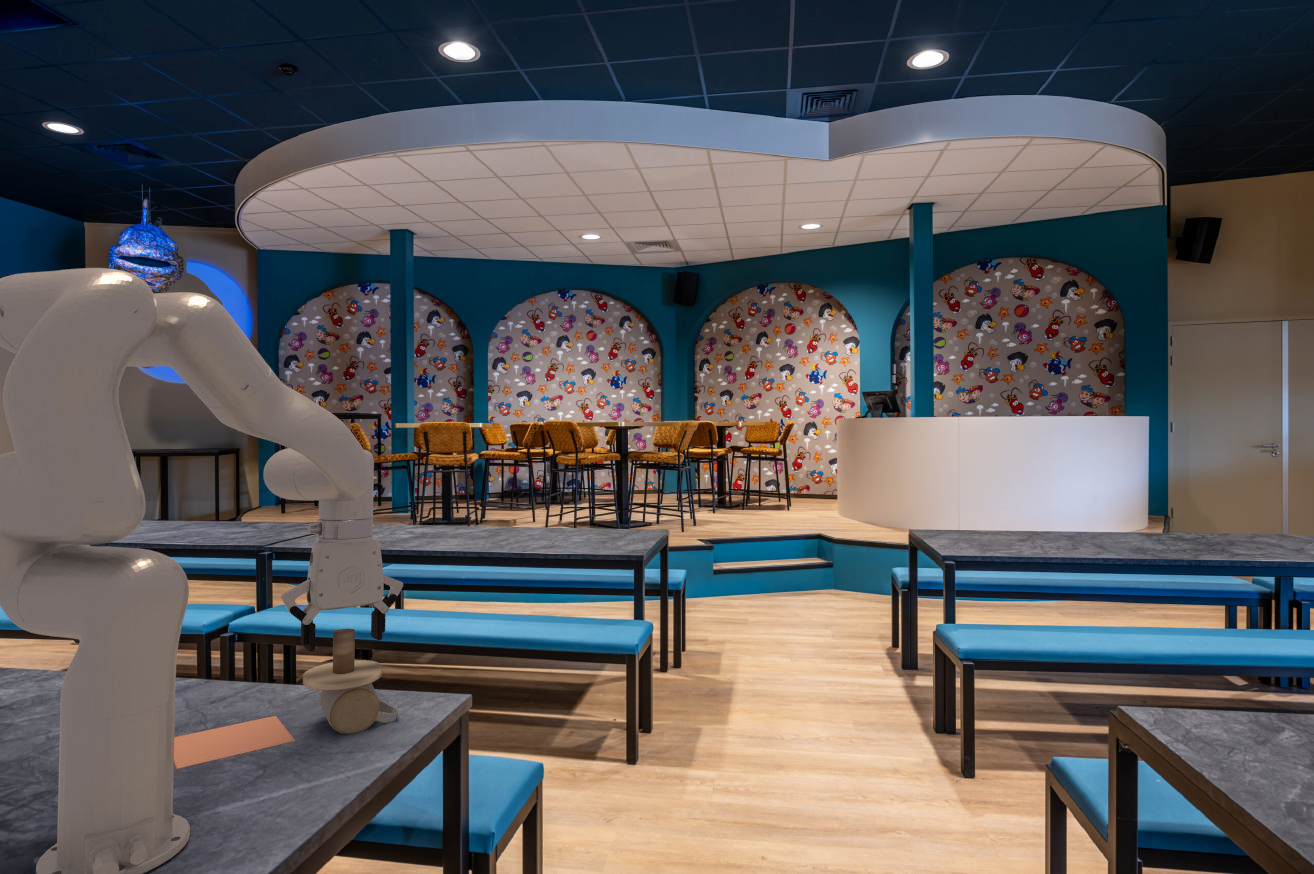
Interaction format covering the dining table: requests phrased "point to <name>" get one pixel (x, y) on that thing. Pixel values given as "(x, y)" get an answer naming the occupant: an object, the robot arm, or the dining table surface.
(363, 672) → the lid
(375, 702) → the ceramic mug
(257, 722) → the mat
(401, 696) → the dining table surface
